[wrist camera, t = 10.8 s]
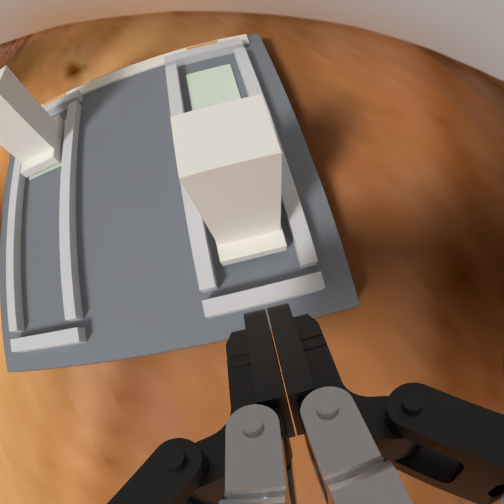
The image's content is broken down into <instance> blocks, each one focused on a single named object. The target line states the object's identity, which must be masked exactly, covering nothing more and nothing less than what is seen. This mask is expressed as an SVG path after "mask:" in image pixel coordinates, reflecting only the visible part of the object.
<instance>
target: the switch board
mask: <svg viewBox="0 0 504 504" xmlns="http://www.w3.org/2000/svg"><path fill="white" fill-rule="evenodd" d="M260 94H261V95H262V98H263V101H264V104H265V106H266V109H267V112H268V115H269V117H270V120H271V123H272V126H273V129H274V132H275V134H276V137H277V140H278V143H279V146H280V149H281V152H282V173H281V227H282V230H283V234H284V238H285V241H286V245H287V248H286V251H282V252H278V253H274V254H270V255H266V256H262V257H257V258H253V259H249V260H245V261H241V262H237V263H233V264H229V265H225V266H222V264H221V263H220V259H219V255H218V250H217V245H216V240H215V239H214V237H213V235H212V234H211V232H210V230H209V229H208V227H207V225H206V224H205V222H204V220H203V219H202V217H201V215H200V213H199V212H198V210H197V208H196V207H195V205H194V203H193V202H192V200H191V198H190V197H189V195H188V193H187V191H186V190H185V188H184V186H183V185H182V183H181V181H180V179H179V176H178V169H177V163H176V156H175V149H174V142H173V134H172V127H171V119H170V117H172V116H175V115H179V114H182V113H186V112H189V111H193V110H197V109H200V108H204V107H208V106H212V105H216V104H220V103H224V102H228V101H232V100H237V99H241V98H246V97H250V96H255V95H260ZM41 106H42V107H43V108H44V109H45V110H46V112H47V113H48V114H49V115H50V116H51V117H52V118H53V117H55V116H57V115H60V117H61V118H62V119H63V120H64V124H63V131H62V140H61V149H60V160H59V163H57V164H55V165H53V166H50V167H48V168H46V169H44V170H42V171H40V172H38V173H35V174H33V175H31V176H29V177H27V178H26V177H25V176H23V175H22V174H21V173H20V171H21V164H22V163H21V162H20V161H19V160H18V159H16V158H15V157H14V156H13V155H12V154H10V159H9V165H8V171H7V177H6V184H5V192H4V201H3V210H2V222H1V237H0V303H1V319H2V330H3V340H4V349H5V356H6V363H7V369H8V372H24V371H35V370H45V369H55V368H64V367H72V366H80V365H88V364H96V363H103V362H110V361H116V360H123V359H129V358H136V357H142V356H147V355H153V354H159V353H165V352H170V351H175V350H181V349H186V348H191V347H196V346H201V345H206V344H211V343H215V342H220V341H225V340H228V339H229V337H230V334H231V332H235V331H239V330H244V329H245V322H244V313H248V312H252V311H256V310H261V309H265V311H266V315H267V319H268V323H269V326H270V330H272V328H271V324H270V319H269V315H268V311H267V308H268V307H272V306H276V305H280V304H284V303H288V304H289V306H290V309H291V312H292V316H293V317H296V316H300V315H304V314H309V315H310V316H311V317H312V318H313V319H315V318H318V317H322V316H326V315H329V314H333V313H336V312H340V311H343V310H347V309H350V308H353V307H355V306H358V305H360V304H359V300H358V296H357V293H356V289H355V286H354V282H353V279H352V276H351V272H350V269H349V266H348V262H347V259H346V256H345V252H344V249H343V246H342V243H341V240H340V237H339V233H338V230H337V227H336V224H335V221H334V218H333V215H332V212H331V209H330V206H329V204H328V201H327V198H326V195H325V192H324V189H323V186H322V184H321V181H320V178H319V175H318V173H317V170H316V167H315V165H314V162H313V159H312V157H311V154H310V151H309V149H308V146H307V144H306V141H305V138H304V136H303V133H302V131H301V128H300V126H299V123H298V121H297V118H296V116H295V114H294V111H293V109H292V106H291V104H290V102H289V99H288V97H287V95H286V92H285V90H284V88H283V85H282V83H281V81H280V79H279V76H278V74H277V72H276V70H275V67H274V65H273V63H272V61H271V59H270V56H269V54H268V52H267V50H266V48H265V46H264V44H263V42H262V40H261V37H260V35H259V34H253V35H248V36H247V35H246V34H243V35H238V36H233V37H228V38H223V39H219V40H214V41H210V42H206V43H202V44H198V45H194V46H190V47H187V48H183V49H179V50H176V51H173V52H169V53H166V54H163V55H159V56H156V57H153V58H150V59H147V60H144V61H141V62H138V63H136V64H133V65H130V66H127V67H125V68H122V69H119V70H117V71H114V72H112V73H109V74H107V75H104V76H102V77H99V78H97V79H95V80H92V81H90V82H88V83H85V84H83V85H81V86H79V87H77V88H74V89H72V90H70V91H68V92H66V93H64V94H62V95H60V96H58V97H56V98H54V99H52V100H50V101H48V102H46V103H44V104H42V105H41Z"/></svg>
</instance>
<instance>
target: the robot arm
mask: <svg viewBox="0 0 504 504" xmlns="http://www.w3.org/2000/svg"><path fill="white" fill-rule="evenodd" d="M267 311H268V315H269V319H270V324H271V328H272V332H273V336H274V340H275V345H276V349H277V353H278V357H279V361H280V366H281V370H282V374H283V378H284V382H285V387H286V391H287V395H288V399H289V403H290V407H291V411H292V415H293V419H294V423H295V427H296V431H297V435H302V434H304V435H305V439H306V443H307V447H308V451H309V456H310V459H311V462H312V465H313V468H314V470H315V473H316V476H317V479H318V482H319V484H320V487H321V490H322V493H323V496H324V499H325V501H326V504H413V503H412V501H411V499H410V497H409V495H408V493H407V491H406V489H405V487H404V485H403V482H402V480H401V478H400V476H399V474H398V472H397V471H396V469H397V470H399V471H401V472H404V473H406V474H408V475H410V476H412V477H414V478H416V479H419V480H421V481H423V482H425V483H428V484H430V485H432V486H435V487H437V488H439V489H442V490H444V491H447V492H449V493H451V494H454V495H456V496H459V497H462V498H464V499H467V500H469V501H472V502H475V503H478V504H504V415H503V414H500V413H497V412H494V411H491V410H489V409H486V408H483V407H481V406H478V405H475V404H473V403H470V402H467V401H465V400H462V399H459V398H457V397H454V396H452V395H449V394H447V393H444V392H442V391H439V390H436V389H434V388H431V387H429V386H427V385H424V384H421V383H407V384H403V385H401V386H399V387H398V388H396V389H395V390H394V391H393V392H392V393H391V394H390V396H379V397H364V396H359V395H356V394H354V393H352V392H351V391H349V390H348V389H347V388H346V387H345V386H344V385H343V383H342V381H341V379H340V376H339V373H338V371H337V368H336V366H335V363H334V361H333V358H332V356H331V353H330V351H329V348H328V346H327V343H326V341H325V338H324V336H323V334H322V331H321V329H320V326H319V324H318V322H317V321H316V320H315V319H313V318H312V317H311V316H310V315H309V314H304V315H300V316H296V317H293V316H292V312H291V309H290V306H289V304H288V303H284V304H280V305H276V306H272V307H268V308H267ZM244 322H245V329H244V330H239V331H235V332H231V334H230V337H229V339H228V341H227V344H226V352H227V365H228V378H229V390H230V402H231V414H230V417H229V419H228V421H227V423H226V425H225V426H224V427H223V428H222V429H221V430H220V431H218V432H217V433H216V434H214V435H212V436H210V437H207V438H205V439H203V440H201V441H198V442H196V443H194V442H192V441H190V440H188V439H184V438H175V439H170V440H168V441H166V442H164V443H162V444H161V445H160V446H159V447H158V448H157V449H156V450H155V451H154V452H153V453H152V455H151V456H150V457H149V458H148V459H147V460H146V461H145V463H144V464H143V465H142V466H141V467H140V468H139V469H138V470H137V472H136V473H135V474H134V475H133V476H132V477H131V478H130V479H129V480H128V482H127V483H126V484H125V485H124V486H123V487H122V488H121V489H120V490H119V491H118V493H117V494H116V495H115V496H114V497H113V498H112V499H111V500H110V501H109V502H108V503H107V504H297V496H296V487H295V479H294V471H293V462H292V450H291V445H290V440H289V438H290V437H294V436H295V431H294V427H293V423H292V419H291V414H290V410H289V406H288V402H287V397H286V393H285V389H284V384H283V380H282V376H281V372H280V367H279V363H278V359H277V355H276V350H275V346H274V342H273V338H272V334H271V330H270V326H269V323H268V319H267V315H266V311H265V309H261V310H256V311H252V312H248V313H244Z"/></svg>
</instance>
